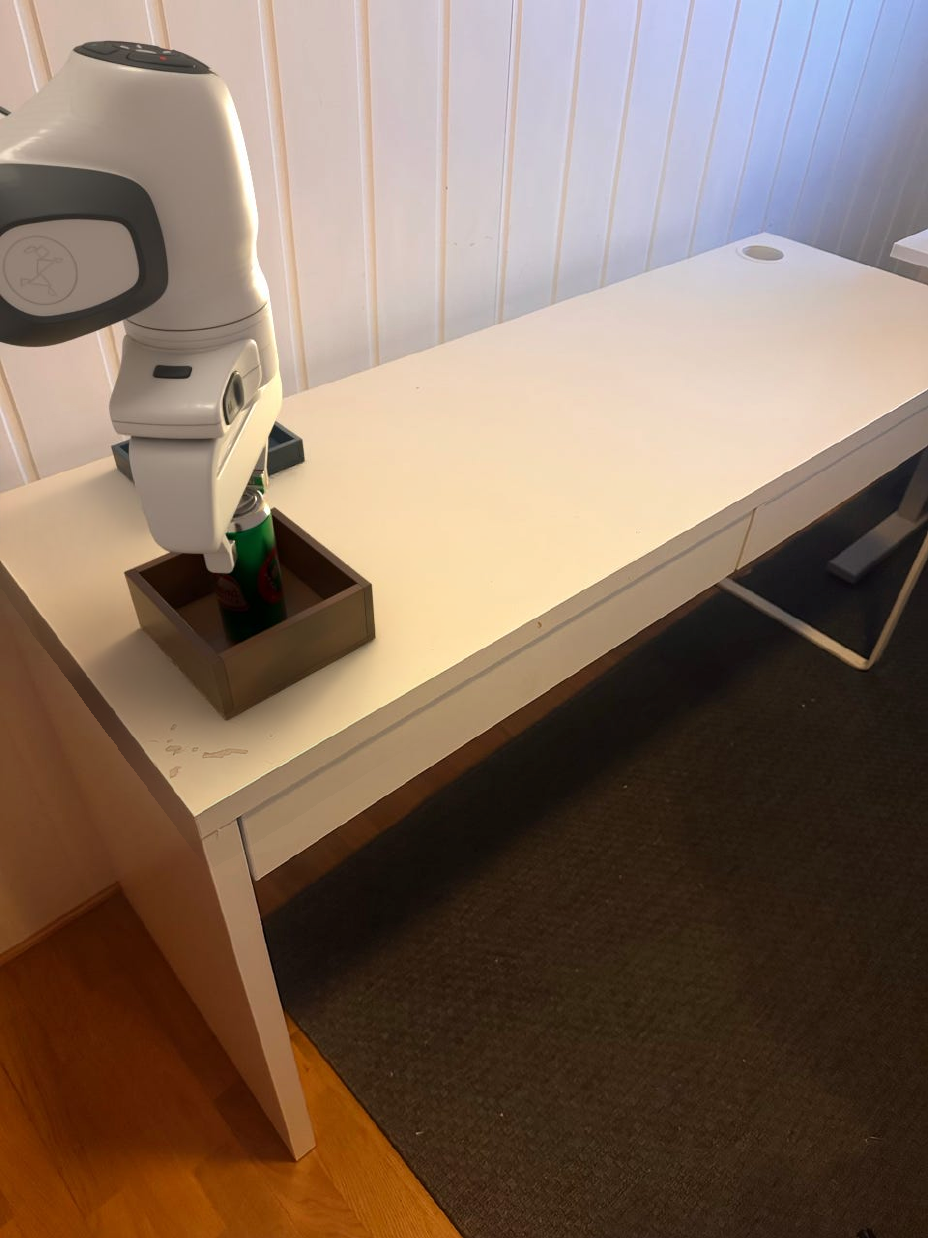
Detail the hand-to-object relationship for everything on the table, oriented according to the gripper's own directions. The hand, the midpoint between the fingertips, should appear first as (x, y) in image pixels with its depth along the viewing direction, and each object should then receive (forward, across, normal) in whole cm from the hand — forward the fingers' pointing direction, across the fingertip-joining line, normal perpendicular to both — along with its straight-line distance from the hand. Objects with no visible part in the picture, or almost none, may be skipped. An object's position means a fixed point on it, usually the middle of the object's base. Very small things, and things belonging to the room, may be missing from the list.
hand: (240, 526), depth 65 cm
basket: (+10, 0, 0) cm, 10 cm away
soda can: (+10, 0, 0) cm, 10 cm away
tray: (+10, -25, -11) cm, 29 cm away
